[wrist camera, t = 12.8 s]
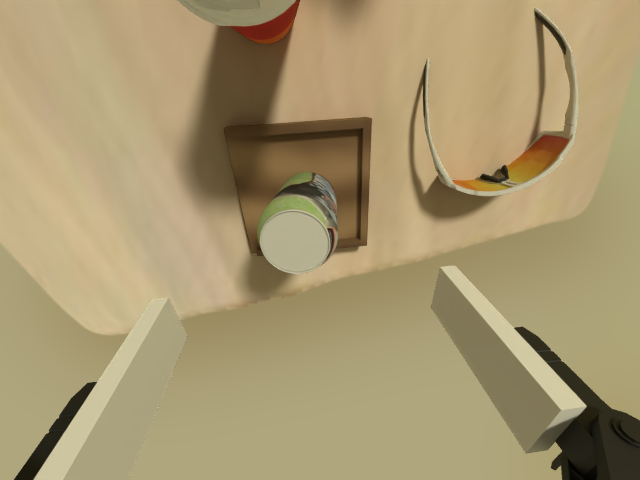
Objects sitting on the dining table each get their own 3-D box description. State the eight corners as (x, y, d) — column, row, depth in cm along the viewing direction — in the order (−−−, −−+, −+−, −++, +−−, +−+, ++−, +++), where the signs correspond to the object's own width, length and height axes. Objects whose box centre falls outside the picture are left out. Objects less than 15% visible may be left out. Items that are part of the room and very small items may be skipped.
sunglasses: (432, 206, 32) (453, 217, 27) (397, 73, 26) (416, 60, 22) (550, 158, 30) (594, 162, 25) (538, 7, 25) (591, -24, 20)
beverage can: (322, 228, 30) (336, 298, 20) (261, 208, 28) (241, 273, 18) (344, 179, 28) (374, 230, 17) (278, 153, 26) (268, 193, 15)
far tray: (225, 127, 25) (221, 129, 24) (367, 116, 26) (371, 118, 24) (252, 248, 32) (250, 256, 30) (363, 238, 33) (366, 245, 31)
